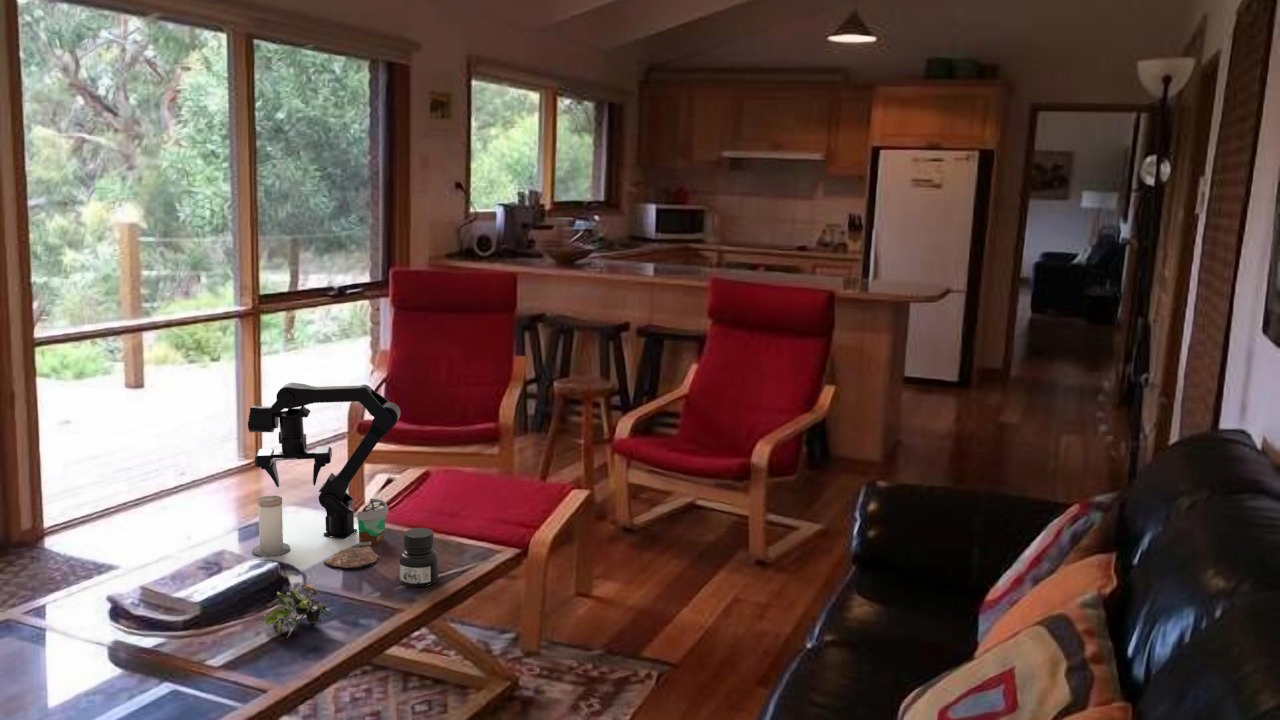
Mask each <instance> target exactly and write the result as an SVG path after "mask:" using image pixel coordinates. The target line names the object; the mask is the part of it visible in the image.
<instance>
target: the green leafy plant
mask: <svg viewBox="0 0 1280 720" xmlns="http://www.w3.org/2000/svg"><path fill="white" fill-rule="evenodd" d="M301 588H302V589H304V590H305V591H306V592H308V593H307V594H306V593H305V592H302V591H300V590H296V589H294V588H293V589H289V590H288V591H286V594H285V593H280V592H279V591H277V592H276V595H277V597H278V599H279V602H278V605H277V607H276V608H277V609H274V610H273V611H272V612H271V613H270V614H269V613H268V612H264V614H263V615H262V617H261V621H262V622H264V621H265V624H266V625H267V626H270V625H272V626H273V625H275V626H277V625H278V626H277V630H278V633H279V634H280V633H281V631H282V627H283V625H284V623H286V622H287V625H288V626H287V628H288V634H287V636H286V639H289V637H290V635H291V634H292V632H293V630H294V629H295V628H296V627H297V626H298V625H299V622H300V621H301V620H302V619H303V618H304V617H305V616H306V619H307V622H308V623H309V624H315V623H318V624H319V623H320V624H321V623H322V620H321V617H320V616H321V615H325V616H326V617H332V616H333V612H331V611H329V610H327V607H326V603H324V602H320V600H322V599H321V598H320V597H316V595H320V592H319V590H317V589H316V588H315V587H314V586H313V587H311V586H310V585H308V584H301ZM311 594H312V595H311ZM313 596H315V597H313ZM284 606H286V607H284ZM282 607H284V608H282ZM281 608H282V609H281ZM293 611H295V613H296V615H295V617H293V616H292V615H291V614H292V613H293ZM298 616H301V617H300V618H299V619H298V620H297V618H298ZM266 617H267V618H266ZM265 619H266V620H265ZM288 619H290V620H288Z"/></svg>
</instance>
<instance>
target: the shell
mask: <svg viewBox="0 0 1280 720" xmlns="http://www.w3.org/2000/svg"><path fill="white" fill-rule="evenodd" d="M372 548H373V547H370V546H365V547H360V548H359V547H349V548H344V549H341V550H339V551H338V552H336V553H335V554H333V555H332V556H331V557H328V558H326V559H325V560H323V564H324V565H325V566H326V567H329V568H331V569H333V570H338V569H339V570H344V571H349V570H350V571H351V570H354V571H357V570H358V571H359V570H362V569H363V568H369V567H371V566H373V565H376V564H377V563H378V561H379V560H380V559H379V557H380V556H379V555H378V554H377V553H376V552H374V550H373V549H372Z"/></svg>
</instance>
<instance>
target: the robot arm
mask: <svg viewBox="0 0 1280 720" xmlns="http://www.w3.org/2000/svg"><path fill="white" fill-rule="evenodd" d="M351 402H353V403H354V402H355V403H357V402H358V403H359V404H361V405H362V406H363V407H364V408H365V409H366V410H365V411H367V412H368V413H369V414H370V415H371V416H372V417H373V419H372V421H371V424H370V426H369V428H368V431H367V433H366V434H365V436H364V437H363V438H362V440H361V441H360V443H359V444H358V446H357V447H356V448H355V450H354V451H353V452H352V455H351V456H350V457H349V459H348V460H347V461H346V463H345V464H344V465H343V467H342V469H341V470H340V471H339V472H338V473H337V474H334V473H333V472H331V473H330V474H329V476H328V477H327V479H326V481H325V482H324V483H323V484H322V485H321V487H320V489H319V490H318V492H319V493H320V494H319V495H318V501H319V502H318V503H319V504H320V506H321V507H322V508H323V509H325V512H326V515H325V518H324V519H325V520H324V521H325V531H326V532H324V533H323V536H325V537H330V536H332V537H331V538H337V539H346V538H347V537H350V536H351V534H352V535H354V534H355V533H357V532H358V528H355V520H354V519H355V515H354V514H355V513H354V512H355V511H354V510H352V509H351V507H352V506H353V504H354V501H355V499H354V497H352V496H351V495H350V494H349V493H348V492H347V491H348V489H349V487H350V484H351V482H352V480H353V478H354V477H355V475H356V474H357V473H358V471H359V469H360V468H361V467H362V466H363V464H364V463H365V461H366V459H368V457H369V455H370V454H371V453H372V451H374V450H373V449H375V447H376V445H377V444H378V442H379V441H380V440H381V439H382V438H383V437H384V436H386V434H387V433H389V432H390V431H391V430H392V429H393V428H394V426H396V424H397V423H398V421H399V419H400V418H401V414H402V412H401V408H400V407H399V405H397V404H396V403H394V402H391V401H389V400H387V398H385V396H384V395H381V394H380V393H378V392H377V391H375V390H374V389H373V388H372V387H370V386H369V385H367V384H360V385H335V386H333V385H331V386H329V385H328V386H313V385H310V384H306V383H301V382H299V383H298V382H288V383H286V384H284V385H283V386H282V387H281V388H280V389H279V390H278V391H277V393H276V400H275V402H274V403H273V404H272V405H271V406H258V405H252V406H250V407H249V414H248V421H247V428H248V429H247V430H248V431H249V433H274V432H275V429H278V428H280V429H279V430H280V431H279V432H278V445H281V452H275V449H274V448H259V449H258V450H257V452H256V454H255V457H254V463H255V464H254V465H255V467H257V468H260V469H261V470H264V471H265V472H266V473H267V474H268V475H269V476H270V478H271V479H272V481H273V483H274V484H275V486H276V487H277V488H279V487H280V479H279V473H278V469H277V461H288V460H290V461H291V460H292V461H293V460H295V461H296V460H312V459H313V461H314V463H313V473H312V474H313V475H312V483H313V486H316V483H317V481H318V480H317V479H318V476H319V473H320V471H321V468H323V467H326V466H327V465H328V464H331V463H332V458H333V457H332V456H333V449H332V447H331V446H329V445H326V446H325V445H324V446H315V450H313V451H311V450H309V451H306V450H307V449H308V448H307V433H305V431H304V419H303V418H308V417H309V415H310V414H311V410H310V409H309V408H307V407H306V406H307V405H310V404H311V405H312V404H319V403H320V404H322V403H323V404H324V403H325V404H326V403H351ZM284 409H286V410H284ZM356 531H357V532H356ZM354 532H355V533H354Z"/></svg>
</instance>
